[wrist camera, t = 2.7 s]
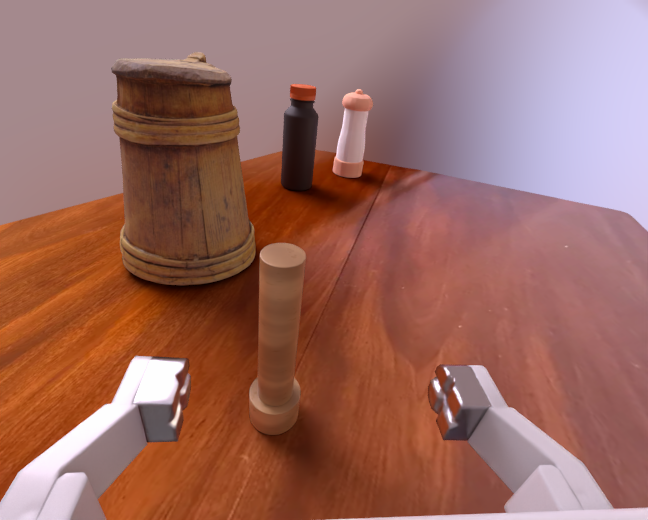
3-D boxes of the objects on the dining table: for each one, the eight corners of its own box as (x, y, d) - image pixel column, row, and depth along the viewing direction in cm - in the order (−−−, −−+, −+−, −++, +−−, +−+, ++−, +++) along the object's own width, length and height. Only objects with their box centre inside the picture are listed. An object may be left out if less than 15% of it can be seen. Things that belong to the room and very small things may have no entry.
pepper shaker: (331, 166, 92) (341, 85, 82) (358, 169, 93) (372, 89, 83) (334, 176, 86) (345, 90, 76) (363, 179, 87) (378, 94, 77)
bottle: (315, 183, 81) (324, 87, 70) (306, 193, 75) (316, 90, 65) (286, 177, 82) (292, 81, 71) (276, 187, 76) (280, 85, 66)
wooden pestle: (283, 444, 30) (297, 282, 21) (239, 421, 31) (234, 259, 22) (306, 403, 33) (327, 249, 24) (266, 384, 35) (271, 231, 25)
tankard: (101, 289, 43) (34, 55, 30) (154, 207, 63) (128, 42, 49) (253, 291, 46) (253, 78, 33) (258, 212, 66) (260, 57, 52)
